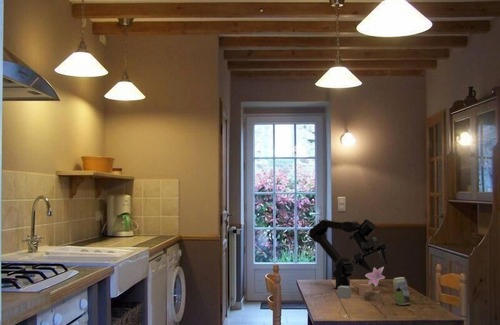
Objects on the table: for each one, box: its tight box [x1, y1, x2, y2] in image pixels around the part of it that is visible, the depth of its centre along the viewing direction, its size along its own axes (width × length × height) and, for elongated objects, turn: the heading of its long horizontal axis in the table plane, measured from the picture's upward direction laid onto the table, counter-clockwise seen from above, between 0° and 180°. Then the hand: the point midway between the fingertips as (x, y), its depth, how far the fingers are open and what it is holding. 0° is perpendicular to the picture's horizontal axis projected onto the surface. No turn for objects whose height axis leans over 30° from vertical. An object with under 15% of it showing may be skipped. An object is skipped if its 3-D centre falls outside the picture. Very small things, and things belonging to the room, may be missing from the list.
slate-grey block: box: [337, 285, 352, 299], centre depth 269 cm, size 5×5×5 cm
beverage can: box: [392, 276, 411, 306], centre depth 249 cm, size 6×7×12 cm
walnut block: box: [363, 289, 382, 302], centre depth 261 cm, size 6×6×4 cm
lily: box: [365, 266, 386, 287], centre depth 306 cm, size 12×12×10 cm
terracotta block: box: [358, 283, 373, 296], centre depth 275 cm, size 5×5×5 cm
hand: (378, 267), depth 277 cm, fingers open, 9 cm apart
